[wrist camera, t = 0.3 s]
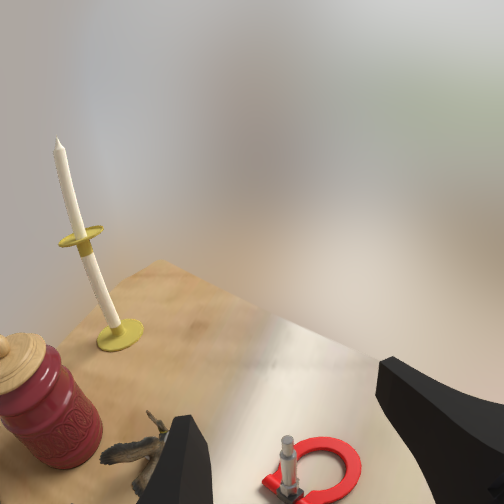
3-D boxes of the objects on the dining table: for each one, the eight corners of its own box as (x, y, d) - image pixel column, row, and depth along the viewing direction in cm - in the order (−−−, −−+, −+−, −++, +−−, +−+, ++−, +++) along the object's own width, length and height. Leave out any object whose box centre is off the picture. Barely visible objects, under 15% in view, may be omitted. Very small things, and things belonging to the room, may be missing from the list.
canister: (98, 476, 23) (4, 374, 16) (26, 465, 22) (-57, 371, 15) (111, 401, 35) (53, 300, 28) (47, 403, 34) (-11, 312, 27)
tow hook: (315, 429, 29) (255, 480, 23) (319, 349, 24) (235, 413, 18) (375, 463, 22) (316, 526, 17) (405, 388, 18) (330, 481, 12)
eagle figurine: (142, 422, 30) (95, 464, 22) (152, 397, 27) (96, 446, 19) (190, 459, 29) (149, 508, 21) (209, 441, 26) (161, 500, 18)
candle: (99, 327, 53) (39, 145, 39) (142, 315, 56) (89, 127, 42) (95, 357, 45) (19, 145, 30) (145, 343, 47) (77, 122, 33)
